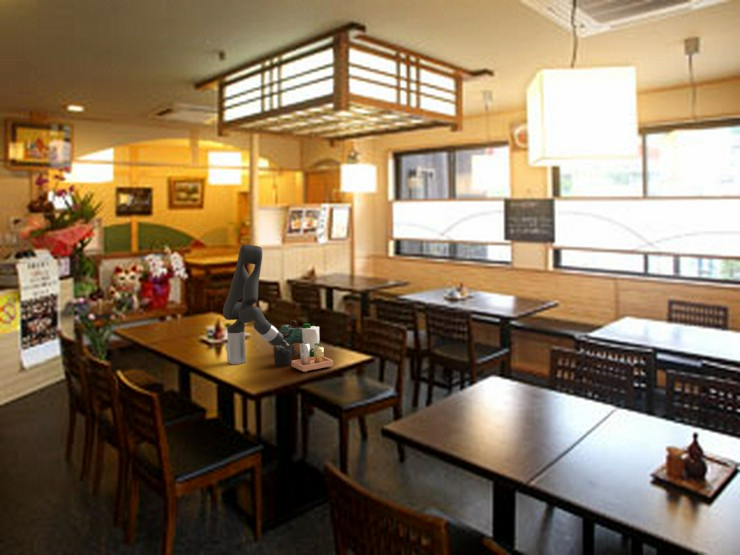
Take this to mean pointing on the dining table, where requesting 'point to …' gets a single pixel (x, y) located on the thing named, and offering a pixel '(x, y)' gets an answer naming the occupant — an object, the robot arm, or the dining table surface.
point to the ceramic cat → (291, 333)
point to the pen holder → (282, 357)
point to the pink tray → (312, 364)
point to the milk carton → (311, 336)
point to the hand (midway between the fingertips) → (290, 352)
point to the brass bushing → (318, 354)
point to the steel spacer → (304, 354)
